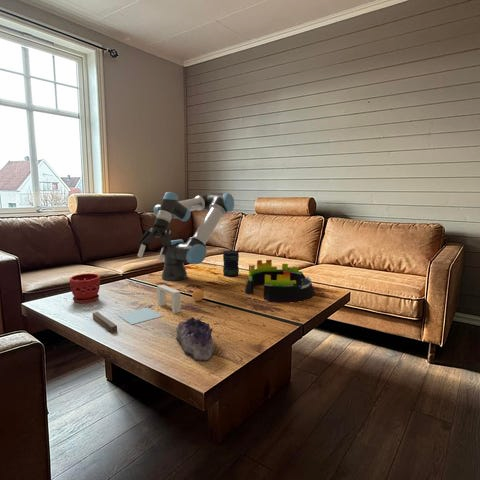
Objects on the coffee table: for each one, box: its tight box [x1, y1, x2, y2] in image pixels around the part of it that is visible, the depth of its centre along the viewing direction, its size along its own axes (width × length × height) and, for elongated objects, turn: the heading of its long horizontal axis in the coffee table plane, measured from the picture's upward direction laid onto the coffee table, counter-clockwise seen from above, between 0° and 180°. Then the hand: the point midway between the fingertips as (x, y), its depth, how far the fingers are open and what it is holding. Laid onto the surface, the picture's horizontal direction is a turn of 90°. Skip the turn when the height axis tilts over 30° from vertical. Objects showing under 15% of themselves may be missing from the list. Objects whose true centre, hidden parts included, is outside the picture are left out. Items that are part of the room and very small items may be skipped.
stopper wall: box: [92, 311, 118, 334], centre depth 135 cm, size 2×20×2 cm, turn 42°
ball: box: [191, 289, 205, 302], centre depth 165 cm, size 6×6×6 cm
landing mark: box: [117, 307, 163, 326], centre depth 145 cm, size 14×14×1 cm
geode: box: [175, 316, 215, 363], centre depth 115 cm, size 20×12×10 cm, turn 26°
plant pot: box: [69, 273, 101, 304], centre depth 164 cm, size 13×13×12 cm
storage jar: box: [222, 250, 240, 278], centre depth 214 cm, size 10×10×15 cm
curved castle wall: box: [244, 259, 316, 304], centre depth 179 cm, size 37×37×15 cm
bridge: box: [157, 284, 182, 314], centre depth 154 cm, size 3×14×9 cm, turn 42°
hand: (149, 258), depth 173 cm, fingers open, 13 cm apart
